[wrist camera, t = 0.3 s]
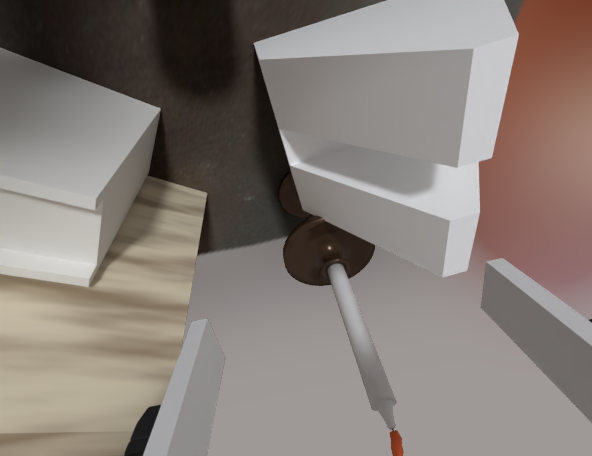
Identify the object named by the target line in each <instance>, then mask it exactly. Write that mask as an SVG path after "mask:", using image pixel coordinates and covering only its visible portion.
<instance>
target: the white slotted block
mask: <svg viewBox="0 0 592 456" xmlns="http://www.w3.org/2000/svg"><path fill="white" fill-rule="evenodd" d="M518 36H519V34H518V32H517V29H516V27H515V24H514V22H513V20H512V17H511V15H510V13H509V11H508V8H507V6H506V4H505V1H504V0H387V1H384V2H380V3H377V4H374V5H371V6H368V7H365V8H362V9H359V10H355V11H352V12H349V13H346V14H343V15H340V16H337V17H334V18H330V19H327V20H324V21H321V22H318V23H315V24H312V25H309V26H305V27H302V28H299V29H296V30H293V31H290V32H287V33H284V34H280V35H277V36H274V37H271V38H268V39H265V40H262V41H259V42H255V43H254V46H255V50H256V53H257V57H258V60H259V63H260V67H261V70H262V74H263V77H264V81H265V84H266V87H267V91H268V94H269V98H270V101H271V105H272V108H273V111H274V115H275V118H276V122H277V125H278V129H279V132H280V136H281V139H282V142H283V146H284V149H285V153H286V156H287V160H288V163H289V166H290V170H291V173H292V176H293V179H294V183H295V186H296V189H297V193H298V196H299V199H300V202H301V206H302V209H303V210H304V211H306V212H308V213H310V214H312V215H314V216H316V215H318V216H320V217H322V218H324V219H325V221H327V222H329V223H331V224H333V225H335V226H337V227H339V228H341V229H343V230H345V231H347V232H349V233H351V234H354V235H356V236H358V237H360V238H362V239H364V240H366V241H368V242H370V243H372V244H374V245H376V246H378V247H380V248H383V249H384V250H386V251H389V252H391V253H393V254H395V255H397V256H399V257H401V258H403V259H405V260H407V261H409V262H411V263H413V264H415V265H417V266H420V267H421V268H424V269H426V270H428V271H430V272H432V273H434V274H436V275H438V276H440V277H442V278H443V277H446V276H450V275H453V274H457V273H460V272H464V271H467V268H468V264H469V259H470V255H471V250H472V246H473V241H474V236H475V232H476V227H477V223H478V218H479V213H480V201H479V200H480V199H479V166H478V162H479V161H482V160H486V159H489V158H491V157H492V155H493V150H494V145H495V141H496V136H497V132H498V127H499V123H500V118H501V114H502V109H503V104H504V100H505V95H506V91H507V86H508V82H509V77H510V72H511V68H512V64H513V59H514V54H515V50H516V45H517V40H518Z"/></svg>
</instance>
